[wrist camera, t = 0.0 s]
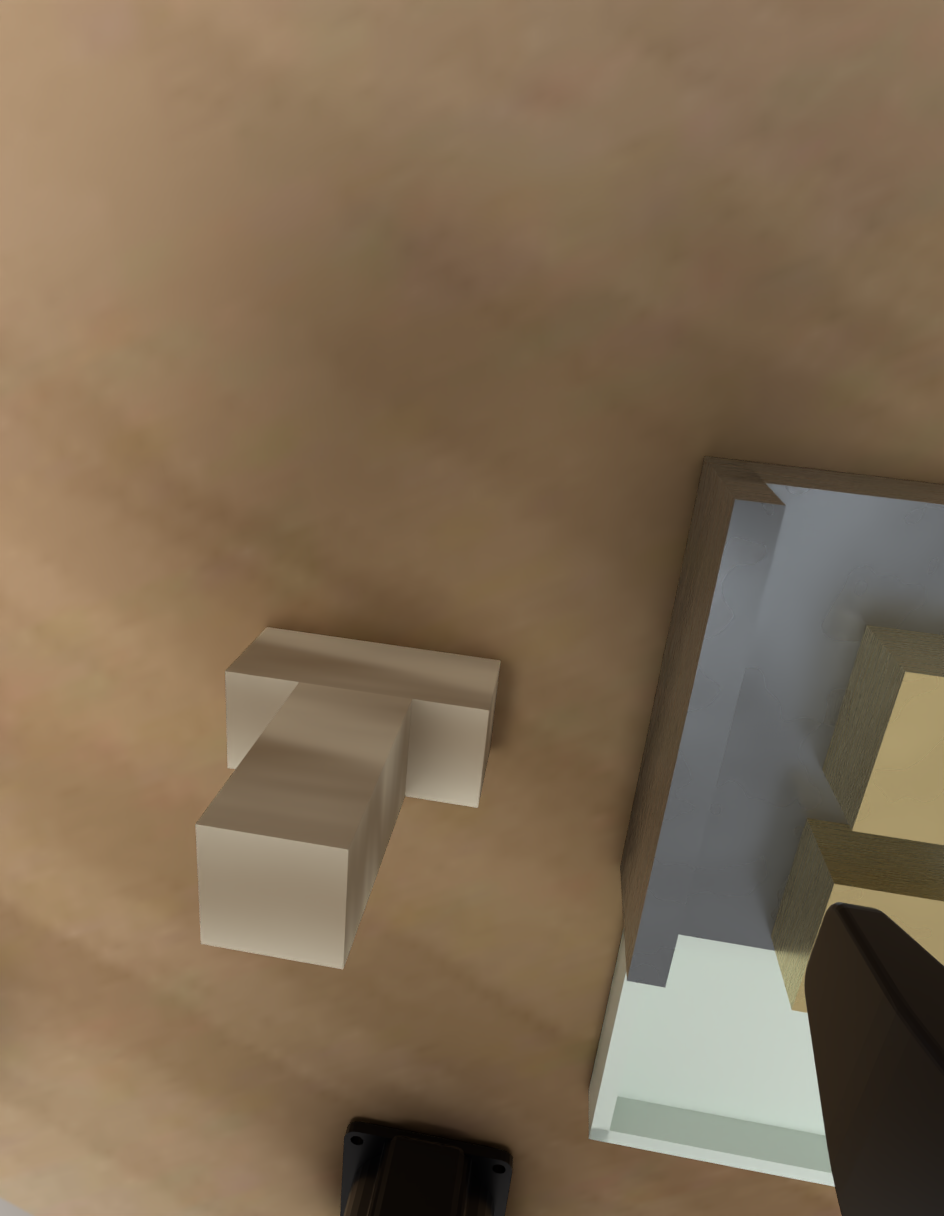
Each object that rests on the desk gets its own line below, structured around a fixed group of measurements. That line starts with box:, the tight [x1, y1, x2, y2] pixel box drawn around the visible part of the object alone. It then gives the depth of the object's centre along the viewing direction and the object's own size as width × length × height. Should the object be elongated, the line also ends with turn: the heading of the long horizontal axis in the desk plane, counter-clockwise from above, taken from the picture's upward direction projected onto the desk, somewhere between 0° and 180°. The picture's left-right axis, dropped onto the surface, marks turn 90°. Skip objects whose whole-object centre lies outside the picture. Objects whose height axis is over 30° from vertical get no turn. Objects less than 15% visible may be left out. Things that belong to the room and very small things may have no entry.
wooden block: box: [771, 818, 944, 1013], centre depth 20 cm, size 4×4×2 cm
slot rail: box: [620, 456, 944, 987], centre depth 20 cm, size 13×12×4 cm
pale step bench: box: [195, 627, 501, 969], centre depth 20 cm, size 3×7×9 cm, turn 85°
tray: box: [589, 929, 835, 1187], centre depth 26 cm, size 10×11×2 cm
